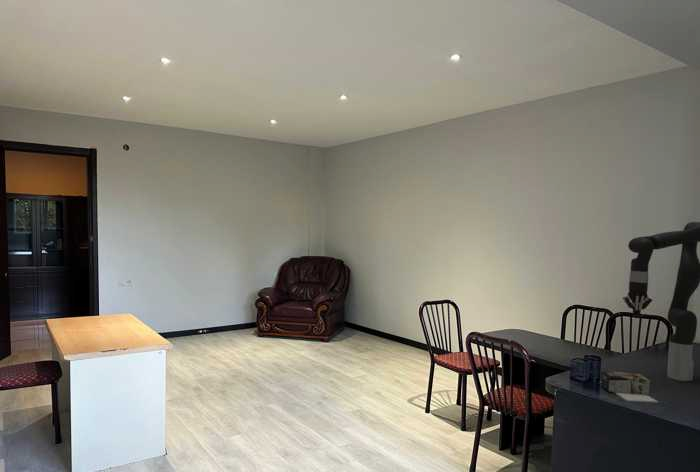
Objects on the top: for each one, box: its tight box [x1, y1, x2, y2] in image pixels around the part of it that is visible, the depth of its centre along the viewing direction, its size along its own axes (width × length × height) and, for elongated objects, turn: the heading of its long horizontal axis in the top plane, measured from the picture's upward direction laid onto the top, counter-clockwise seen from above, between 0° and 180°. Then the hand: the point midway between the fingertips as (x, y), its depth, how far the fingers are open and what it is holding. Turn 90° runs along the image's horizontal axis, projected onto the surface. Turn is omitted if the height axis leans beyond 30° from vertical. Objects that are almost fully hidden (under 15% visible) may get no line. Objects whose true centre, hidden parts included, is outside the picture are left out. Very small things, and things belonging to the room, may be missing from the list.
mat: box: [599, 381, 659, 404], centre depth 206 cm, size 12×22×1 cm, turn 0°
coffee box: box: [600, 370, 651, 396], centre depth 207 cm, size 9×6×16 cm
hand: (636, 317), depth 224 cm, fingers closed
